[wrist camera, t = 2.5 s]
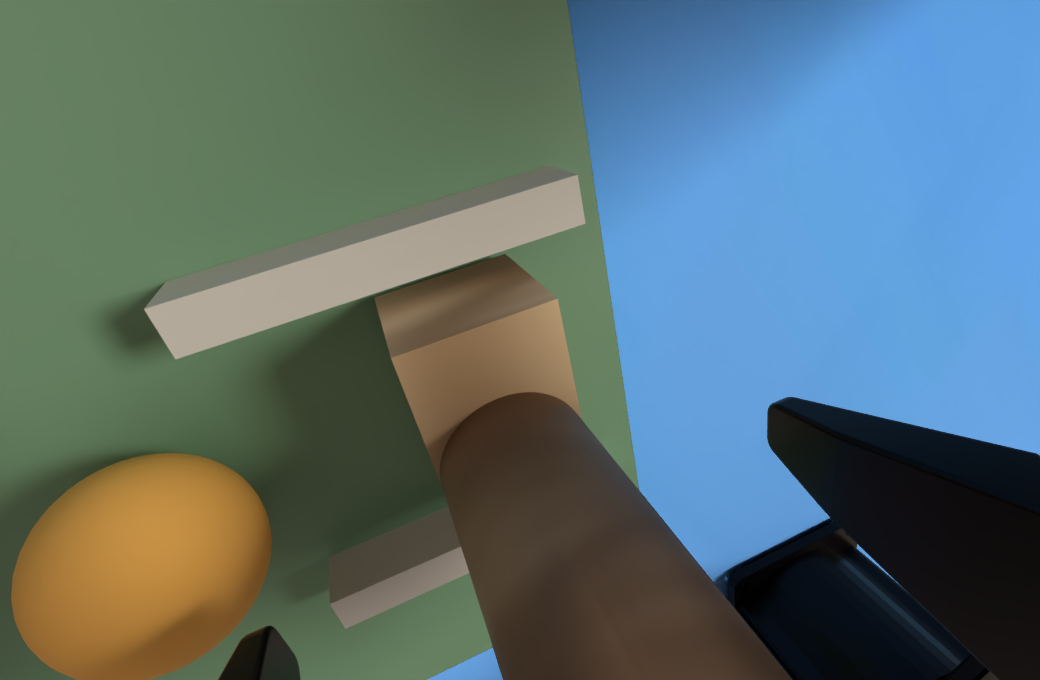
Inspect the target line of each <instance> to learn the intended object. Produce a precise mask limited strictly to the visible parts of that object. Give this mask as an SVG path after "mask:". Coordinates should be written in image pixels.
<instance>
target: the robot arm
mask: <svg viewBox="0 0 1040 680" xmlns="http://www.w3.org/2000/svg"><path fill="white" fill-rule="evenodd" d="M767 439H768V443H769V445H770V447H771V449H772V451H773V452H774V453H775V454H776V456H777V457H778V458H779V459H780V460H781V461H782V462H783V464H784V465H785V466H786V467H787V468H788V469H789V471H790V472H791V473H792V474H793V475H794V476H795V478H796V479H797V480H798V481H799V482H800V483H801V485H802V486H803V487H804V488H805V489H806V490H807V492H808V493H809V494H810V495H811V496H812V497H813V499H814V500H815V501H816V502H817V503H818V504H819V506H820V507H821V508H822V509H823V510H824V511H825V512H826V513H827V514H828V515H829V517H830V518H831V519H832V520H833V521H834V522H832V523H830V524H828V525H826V526H824V527H822V528H820V529H818V530H816V531H814V532H812V533H810V534H808V535H806V536H804V537H802V538H800V539H798V540H796V541H794V542H792V543H790V544H788V545H786V546H784V547H782V548H780V549H778V550H777V551H775V552H773V553H771V554H769V555H767V556H765V557H763V558H761V559H759V560H757V561H755V562H753V563H751V564H749V565H747V566H745V567H743V568H741V569H739V570H737V571H736V572H734V573H733V574H732V575H731V576H730V578H729V580H728V597H729V602H730V603H731V604H732V606H733V607H734V608H735V609H736V611H737V612H738V613H739V614H740V616H741V617H742V618H743V619H744V620H745V622H746V623H747V624H748V625H749V627H750V628H751V629H752V630H753V632H754V633H755V634H756V635H757V637H758V638H759V639H760V640H761V641H762V643H763V644H764V645H765V646H766V648H767V649H768V650H769V651H770V653H771V654H772V655H773V656H774V658H775V659H776V660H777V661H778V662H779V664H780V665H781V666H782V667H783V669H784V670H785V671H786V672H787V674H788V675H789V676H790V677H791V679H792V680H1040V455H1038V454H1036V453H1032V452H1027V451H1023V450H1019V449H1014V448H1010V447H1006V446H1002V445H997V444H993V443H989V442H984V441H980V440H976V439H971V438H967V437H963V436H958V435H954V434H950V433H946V432H941V431H937V430H933V429H928V428H924V427H920V426H915V425H911V424H907V423H902V422H898V421H894V420H890V419H885V418H881V417H877V416H872V415H868V414H864V413H859V412H855V411H851V410H846V409H842V408H838V407H834V406H829V405H825V404H821V403H816V402H812V401H808V400H803V399H799V398H795V397H786V398H784V399H782V400H779V401H777V402H775V403H772V404H771V405H770V406H769V408H768V417H767ZM857 544H858V545H859V546H860V547H861V548H862V549H863V550H864V551H865V552H866V553H867V554H868V555H870V556H871V557H872V558H873V559H874V560H875V561H876V562H877V563H878V564H879V565H880V566H881V567H882V568H883V569H884V570H885V571H886V572H887V573H888V574H889V575H890V576H891V577H892V578H893V579H894V580H893V579H892V578H891V577H890V576H889V575H887V574H886V573H885V572H884V571H883V570H882V569H880V568H879V567H878V566H877V565H876V564H874V563H873V562H872V561H871V560H870V559H869V558H867V557H866V556H865V555H864V554H863V553H861V552H860V551H859V550H858V549H857V548H856V547H857ZM896 581H897V582H898V583H899V584H900V585H899V584H898V583H897V582H896ZM218 680H301V679H300V670H299V665H298V661H297V658H296V656H295V654H294V653H293V651H292V650H291V648H290V647H289V646H288V644H287V643H286V642H285V640H284V639H283V638H282V636H281V635H280V634H279V632H278V631H277V630H276V629H275V628H274V627H273V626H265V627H263V628H261V629H259V630H256V631H254V632H252V633H249V634H247V635H246V636H244V637H243V638H242V639H241V640H240V642H239V643H238V645H237V647H236V648H235V650H234V652H233V654H232V655H231V657H230V659H229V661H228V663H227V664H226V666H225V668H224V670H223V671H222V673H221V675H220V677H219V679H218Z"/></svg>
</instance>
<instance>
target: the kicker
mask: <svg viewBox="0 0 1040 680" xmlns="http://www.w3.org/2000/svg"><path fill="white" fill-rule="evenodd" d="M374 299H375V303H376V306H377V310H378V313H379V317H380V321H381V324H382V328H383V331H384V335H385V339H386V342H387V346H388V349H389V353H390V357H391V360H392V362H393V365H394V367H395V370H396V372H397V375H398V377H399V380H400V382H401V385H402V387H403V390H404V392H405V395H406V398H407V400H408V403H409V405H410V408H411V410H412V413H413V415H414V418H415V420H416V423H417V425H418V428H419V430H420V433H421V435H422V438H423V441H424V443H425V446H426V448H427V451H428V453H429V456H430V458H431V461H432V463H433V466H434V468H435V471H436V473H437V476H438V478H439V481H440V484H441V486H442V489H443V491H444V495H445V498H446V501H447V504H448V507H449V510H450V514H451V517H452V520H453V523H454V526H455V529H456V532H457V536H458V539H459V542H460V545H461V548H462V551H463V555H464V558H465V561H466V564H467V567H468V570H469V573H470V577H471V580H472V583H473V586H474V589H475V592H476V596H477V599H478V602H479V605H480V608H481V611H482V614H483V618H484V621H485V624H486V627H487V630H488V633H489V637H490V640H491V643H492V646H493V649H494V652H495V655H496V659H497V662H498V665H499V668H500V671H501V674H502V678H503V680H792V679H791V677H790V676H789V675H788V674H787V672H786V671H785V670H784V669H783V667H782V666H781V665H780V664H779V662H778V661H777V660H776V659H775V658H774V656H773V655H772V654H771V653H770V651H769V650H768V649H767V648H766V646H765V645H764V644H763V643H762V641H761V640H760V639H759V638H758V637H757V635H756V634H755V633H754V632H753V630H752V629H751V628H750V627H749V625H748V624H747V623H746V622H745V620H744V619H743V618H742V617H741V616H740V614H739V613H738V612H737V611H736V609H735V608H734V607H733V606H732V604H731V603H730V602H729V601H728V599H727V598H726V597H725V596H724V595H723V593H722V592H721V591H720V590H719V588H718V587H717V586H716V585H715V583H714V582H713V581H712V580H711V578H710V577H709V576H708V575H707V574H706V572H705V571H704V570H703V569H702V567H701V566H700V565H699V564H698V562H697V561H696V560H695V559H694V558H693V556H692V555H691V554H690V553H689V551H688V550H687V549H686V548H685V546H684V545H683V544H682V543H681V541H680V540H679V539H678V538H677V537H676V535H675V534H674V533H673V532H672V530H671V529H670V528H669V527H668V525H667V524H666V523H665V522H664V520H663V519H662V518H661V517H660V516H659V514H658V513H657V512H656V511H655V509H654V508H653V507H652V506H651V504H650V503H649V502H648V501H647V499H646V498H645V497H644V496H643V495H642V493H641V492H640V491H639V490H638V488H637V487H636V486H635V485H634V483H633V482H632V481H631V480H630V478H629V477H628V476H627V475H626V474H625V472H624V471H623V470H622V469H621V467H620V466H619V465H618V464H617V462H616V461H615V460H614V459H613V457H612V456H611V455H610V454H609V453H608V451H607V450H606V449H605V448H604V446H603V445H602V444H601V443H600V441H599V440H598V439H597V438H596V437H595V435H594V434H593V433H592V432H591V430H590V429H589V428H588V427H587V425H586V424H585V423H584V422H583V420H582V417H581V412H580V407H579V402H578V397H577V392H576V387H575V382H574V377H573V372H572V367H571V362H570V357H569V352H568V348H567V343H566V338H565V333H564V328H563V323H562V318H561V313H560V308H559V303H558V298H556V297H555V296H554V295H553V294H552V293H551V292H549V291H548V290H547V289H546V288H545V287H544V286H542V285H541V284H540V283H539V282H538V281H537V280H535V279H534V278H533V277H532V276H531V275H530V274H528V273H527V272H526V271H525V270H524V269H523V268H521V267H520V266H519V265H518V264H517V263H516V262H514V261H513V260H512V259H511V258H510V257H509V256H507V255H506V254H503V255H500V256H497V257H494V258H491V259H488V260H485V261H482V262H479V263H476V264H473V265H470V266H467V267H464V268H461V269H458V270H455V271H452V272H449V273H446V274H443V275H440V276H437V277H434V278H431V279H428V280H425V281H422V282H419V283H416V284H413V285H410V286H407V287H404V288H401V289H398V290H395V291H392V292H389V293H386V294H383V295H380V296H377V297H374Z"/></svg>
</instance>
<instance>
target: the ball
mask: <svg viewBox="0 0 1040 680" xmlns="http://www.w3.org/2000/svg"><path fill="white" fill-rule="evenodd" d="M271 547H272V536H271V528H270V523H269V519H268V515H267V512H266V509H265V507H264V505H263V503H262V501H261V499H260V498H259V496H258V494H257V493H256V492H255V490H254V489H253V488H252V486H251V485H250V484H249V483H248V482H247V481H246V480H245V479H244V478H243V477H242V476H241V475H239V474H238V473H236V472H235V471H234V470H232V469H230V468H229V467H227V466H225V465H223V464H221V463H219V462H216V461H214V460H211V459H208V458H205V457H202V456H197V455H192V454H184V453H158V454H149V455H143V456H138V457H133V458H130V459H127V460H123V461H120V462H118V463H115V464H112V465H110V466H108V467H105V468H103V469H101V470H99V471H97V472H95V473H93V474H91V475H90V476H88V477H86V478H85V479H83V480H81V481H80V482H78V483H77V484H75V485H74V486H73V487H71V488H70V489H69V490H67V491H66V492H65V493H64V494H63V495H62V496H61V497H59V498H58V499H57V500H56V501H55V502H54V503H53V504H52V505H51V506H50V507H49V508H48V509H47V510H46V512H45V513H44V514H43V515H42V517H41V518H40V519H39V520H38V522H37V523H36V524H35V526H34V527H33V528H32V530H31V532H30V534H29V535H28V537H27V539H26V541H25V543H24V545H23V547H22V549H21V551H20V553H19V556H18V560H17V563H16V566H15V570H14V573H13V579H12V594H11V601H12V608H13V614H14V619H15V622H16V625H17V628H18V630H19V632H20V634H21V636H22V638H23V640H24V641H25V643H26V644H27V646H28V647H29V649H30V650H31V651H32V652H33V653H34V654H35V655H36V656H37V657H38V658H39V659H40V660H41V661H42V662H44V663H45V664H46V665H48V666H49V667H50V668H52V669H54V670H56V671H58V672H60V673H62V674H64V675H66V676H69V677H71V678H74V679H77V680H150V679H153V678H157V677H160V676H163V675H165V674H168V673H171V672H173V671H176V670H178V669H180V668H182V667H184V666H186V665H188V664H190V663H192V662H193V661H195V660H197V659H198V658H200V657H202V656H203V655H205V654H206V653H208V652H209V651H210V650H212V649H213V648H214V647H216V646H217V645H218V644H219V643H220V642H221V641H222V640H224V639H225V638H226V637H227V636H228V635H229V634H230V633H231V632H232V631H233V630H234V629H235V628H236V627H237V625H238V624H239V623H240V622H241V621H242V619H243V618H244V617H245V616H246V614H247V613H248V611H249V610H250V608H251V607H252V605H253V603H254V602H255V600H256V598H257V597H258V595H259V593H260V590H261V588H262V586H263V583H264V581H265V578H266V575H267V571H268V567H269V563H270V558H271Z"/></svg>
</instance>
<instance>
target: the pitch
mask: <svg viewBox="0 0 1040 680" xmlns="http://www.w3.org/2000/svg"><path fill="white" fill-rule="evenodd" d="M503 254H506V255H507V256H509V257H510V258H511V259H512V260H513V261H514V262H516V263H517V264H518V265H519V266H520V267H521V268H523V269H524V270H525V271H526V272H527V273H528V274H530V275H531V276H532V277H533V278H534V279H535V280H537V281H538V282H539V283H540V284H541V285H542V286H544V287H545V288H546V289H547V290H548V291H549V292H551V293H552V294H553V295H554V296H555V297H556V298H558V303H559V308H560V313H561V318H562V323H563V328H564V333H565V338H566V343H567V348H568V352H569V357H570V362H571V367H572V372H573V377H574V382H575V387H576V392H577V397H578V402H579V407H580V412H581V417H582V420H583V422H584V423H585V424H586V425H587V427H588V428H589V429H590V430H591V432H592V433H593V434H594V435H595V437H596V438H597V439H598V440H599V441H600V443H601V444H602V445H603V446H604V448H605V449H606V450H607V451H608V453H609V454H610V455H611V456H612V457H613V459H614V460H615V461H616V462H617V464H618V465H619V466H620V467H621V469H622V470H623V471H624V472H625V474H626V475H627V476H628V477H629V478H630V480H631V481H632V482H633V483H634V485H635V486H636V487H637V488H638V490H639V486H638V480H637V473H636V466H635V459H634V452H633V446H632V439H631V432H630V425H629V418H628V411H627V405H626V398H625V391H624V384H623V377H622V371H621V364H620V357H619V350H618V343H617V336H616V330H615V323H614V316H613V309H612V302H611V296H610V289H609V282H608V275H607V268H606V261H605V255H604V248H603V241H602V234H601V227H600V221H599V214H598V207H597V200H596V193H595V186H594V180H593V173H592V166H591V159H590V152H589V146H588V139H587V132H586V125H585V118H584V112H583V105H582V98H581V91H580V84H579V77H578V71H577V64H576V57H575V50H574V43H573V37H572V30H571V23H570V16H569V9H568V2H567V0H0V680H77V679H74V678H71V677H69V676H66V675H64V674H62V673H60V672H58V671H56V670H54V669H52V668H50V667H49V666H48V665H46V664H45V663H44V662H42V661H41V660H40V659H39V658H38V657H37V656H36V655H35V654H34V653H33V652H32V651H31V650H30V649H29V647H28V646H27V644H26V643H25V641H24V640H23V638H22V636H21V634H20V632H19V630H18V628H17V625H16V622H15V619H14V614H13V608H12V601H11V594H12V579H13V573H14V570H15V566H16V563H17V560H18V556H19V553H20V551H21V549H22V547H23V545H24V543H25V541H26V539H27V537H28V535H29V534H30V532H31V530H32V528H33V527H34V526H35V524H36V523H37V522H38V520H39V519H40V518H41V517H42V515H43V514H44V513H45V512H46V510H47V509H48V508H49V507H50V506H51V505H52V504H53V503H54V502H55V501H56V500H57V499H58V498H59V497H61V496H62V495H63V494H64V493H65V492H66V491H67V490H69V489H70V488H71V487H73V486H74V485H75V484H77V483H78V482H80V481H81V480H83V479H85V478H86V477H88V476H90V475H91V474H93V473H95V472H97V471H99V470H101V469H103V468H105V467H108V466H110V465H112V464H115V463H118V462H120V461H123V460H127V459H130V458H133V457H138V456H143V455H149V454H158V453H184V454H192V455H197V456H202V457H205V458H208V459H211V460H214V461H216V462H219V463H221V464H223V465H225V466H227V467H229V468H230V469H232V470H234V471H235V472H236V473H238V474H239V475H241V476H242V477H243V478H244V479H245V480H246V481H247V482H248V483H249V484H250V485H251V486H252V488H253V489H254V490H255V492H256V493H257V494H258V496H259V498H260V499H261V501H262V503H263V505H264V507H265V509H266V512H267V515H268V519H269V523H270V528H271V536H272V547H271V558H270V563H269V567H268V571H267V575H266V578H265V581H264V583H263V586H262V588H261V590H260V593H259V595H258V597H257V598H256V600H255V602H254V603H253V605H252V607H251V608H250V610H249V611H248V613H247V614H246V616H245V617H244V618H243V619H242V621H241V622H240V623H239V624H238V625H237V627H236V628H235V629H234V630H233V631H232V632H231V633H230V634H229V635H228V636H227V637H226V638H225V639H224V640H222V641H221V642H220V643H219V644H218V645H217V646H216V647H214V648H213V649H212V650H210V651H209V652H208V653H206V654H205V655H203V656H202V657H200V658H198V659H197V660H195V661H193V662H192V663H190V664H188V665H186V666H184V667H182V668H180V669H178V670H176V671H173V672H171V673H168V674H165V675H163V676H160V677H157V678H153V679H150V680H218V679H219V677H220V675H221V673H222V671H223V670H224V668H225V666H226V664H227V663H228V661H229V659H230V657H231V655H232V654H233V652H234V650H235V648H236V647H237V645H238V643H239V642H240V640H241V639H242V638H243V637H244V636H246V635H247V634H249V633H252V632H254V631H256V630H259V629H261V628H263V627H265V626H273V627H274V628H275V629H276V630H277V631H278V632H279V634H280V635H281V636H282V638H283V639H284V640H285V642H286V643H287V644H288V646H289V647H290V648H291V650H292V651H293V653H294V654H295V656H296V658H297V661H298V665H299V670H300V679H301V680H427V679H429V678H431V677H433V676H435V675H437V674H439V673H441V672H443V671H445V670H447V669H449V668H451V667H453V666H455V665H457V664H460V663H462V662H464V661H466V660H468V659H470V658H472V657H474V656H476V655H478V654H480V653H482V652H484V651H486V650H488V649H490V648H492V647H493V646H492V643H491V640H490V637H489V633H488V630H487V627H486V624H485V621H484V618H483V614H482V611H481V608H480V605H479V602H478V599H477V596H476V592H475V589H474V586H473V583H472V580H471V577H470V573H469V570H468V567H467V564H466V561H465V558H464V555H463V551H462V548H461V545H460V542H459V539H458V536H457V532H456V529H455V526H454V523H453V520H452V517H451V514H450V510H449V507H448V504H447V501H446V498H445V495H444V491H443V489H442V486H441V484H440V481H439V478H438V476H437V473H436V471H435V468H434V466H433V463H432V461H431V458H430V456H429V453H428V451H427V448H426V446H425V443H424V441H423V438H422V435H421V433H420V430H419V428H418V425H417V423H416V420H415V418H414V415H413V413H412V410H411V408H410V405H409V403H408V400H407V398H406V395H405V392H404V390H403V387H402V385H401V382H400V380H399V377H398V375H397V372H396V370H395V367H394V365H393V362H392V360H391V357H390V353H389V349H388V346H387V342H386V339H385V335H384V331H383V328H382V324H381V321H380V317H379V313H378V310H377V306H376V303H375V299H374V297H377V296H380V295H383V294H386V293H389V292H392V291H395V290H398V289H401V288H404V287H407V286H410V285H413V284H416V283H419V282H422V281H425V280H428V279H431V278H434V277H437V276H440V275H443V274H446V273H449V272H452V271H455V270H458V269H461V268H464V267H467V266H470V265H473V264H476V263H479V262H482V261H485V260H488V259H491V258H494V257H497V256H500V255H503Z"/></svg>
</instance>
